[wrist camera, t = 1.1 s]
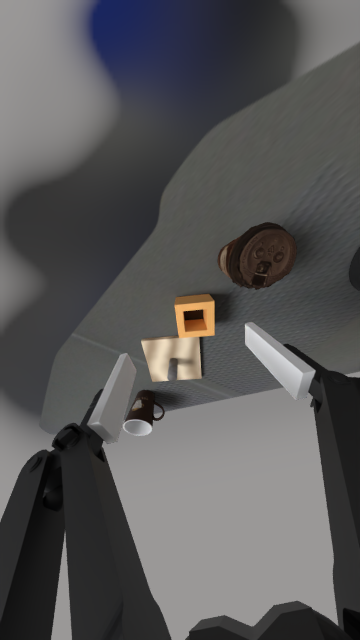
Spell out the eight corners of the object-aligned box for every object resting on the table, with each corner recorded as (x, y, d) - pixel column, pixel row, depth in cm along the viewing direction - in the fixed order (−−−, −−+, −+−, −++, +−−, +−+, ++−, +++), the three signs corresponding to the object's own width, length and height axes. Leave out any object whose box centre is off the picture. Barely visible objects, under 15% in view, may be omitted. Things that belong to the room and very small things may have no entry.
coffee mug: (134, 401, 49) (123, 434, 40) (134, 386, 46) (122, 418, 37) (164, 405, 50) (160, 437, 41) (167, 390, 46) (163, 422, 37)
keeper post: (198, 333, 36) (202, 350, 30) (200, 375, 43) (204, 396, 37) (142, 338, 37) (134, 355, 31) (153, 378, 44) (148, 399, 37)
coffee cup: (225, 287, 31) (251, 305, 19) (203, 258, 28) (219, 258, 16) (259, 260, 28) (314, 262, 16) (239, 225, 26) (287, 198, 14)
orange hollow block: (208, 293, 31) (214, 301, 26) (209, 323, 35) (214, 335, 29) (175, 297, 32) (174, 305, 26) (179, 326, 35) (179, 338, 30)
